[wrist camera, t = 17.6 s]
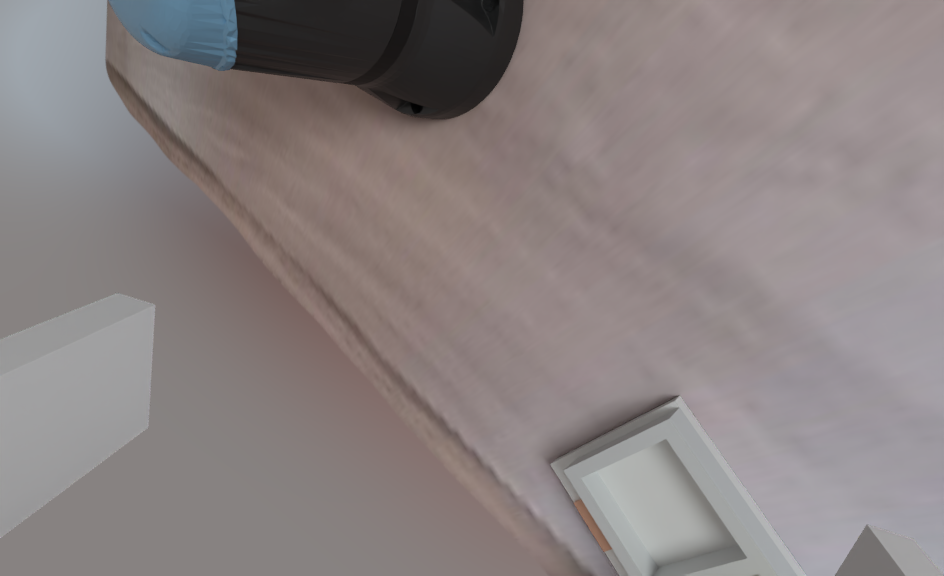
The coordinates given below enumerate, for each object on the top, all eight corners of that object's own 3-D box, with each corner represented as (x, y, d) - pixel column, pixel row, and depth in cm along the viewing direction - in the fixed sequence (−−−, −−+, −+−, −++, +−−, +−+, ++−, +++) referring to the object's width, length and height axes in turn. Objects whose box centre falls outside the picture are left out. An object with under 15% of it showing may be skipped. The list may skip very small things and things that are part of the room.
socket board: (556, 458, 43) (536, 475, 41) (679, 395, 36) (664, 411, 34) (712, 708, 39) (700, 743, 36) (889, 693, 31) (888, 735, 29)
